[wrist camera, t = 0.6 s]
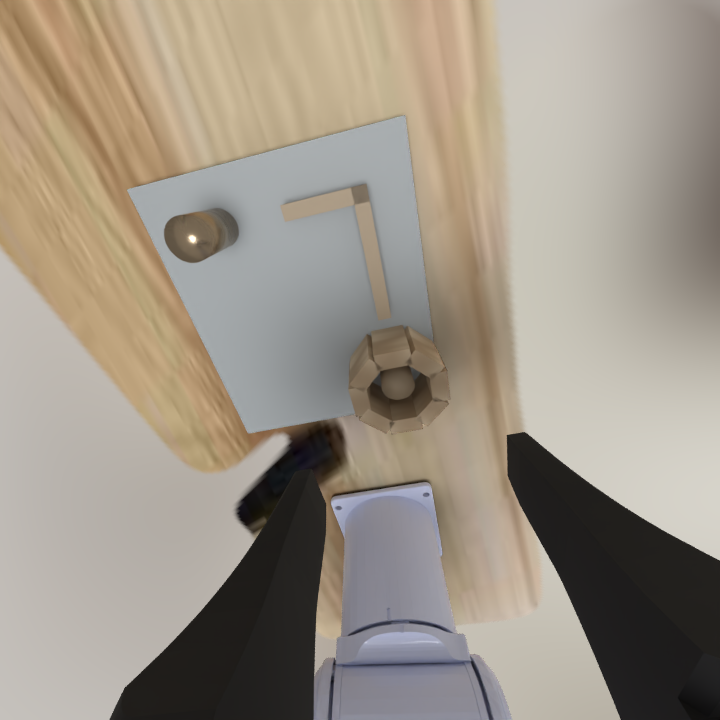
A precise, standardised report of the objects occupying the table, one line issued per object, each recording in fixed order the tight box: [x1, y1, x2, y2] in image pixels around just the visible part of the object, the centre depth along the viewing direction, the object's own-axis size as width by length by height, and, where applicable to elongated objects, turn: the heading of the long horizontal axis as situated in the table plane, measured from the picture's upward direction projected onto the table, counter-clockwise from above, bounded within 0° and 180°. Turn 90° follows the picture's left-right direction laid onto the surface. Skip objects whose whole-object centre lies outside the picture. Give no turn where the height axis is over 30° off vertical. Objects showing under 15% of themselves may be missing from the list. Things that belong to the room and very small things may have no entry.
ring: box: [348, 325, 450, 434], centre depth 19 cm, size 5×5×3 cm
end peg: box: [164, 208, 239, 263], centre depth 15 cm, size 2×2×4 cm
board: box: [127, 115, 434, 433], centre depth 18 cm, size 15×13×3 cm
